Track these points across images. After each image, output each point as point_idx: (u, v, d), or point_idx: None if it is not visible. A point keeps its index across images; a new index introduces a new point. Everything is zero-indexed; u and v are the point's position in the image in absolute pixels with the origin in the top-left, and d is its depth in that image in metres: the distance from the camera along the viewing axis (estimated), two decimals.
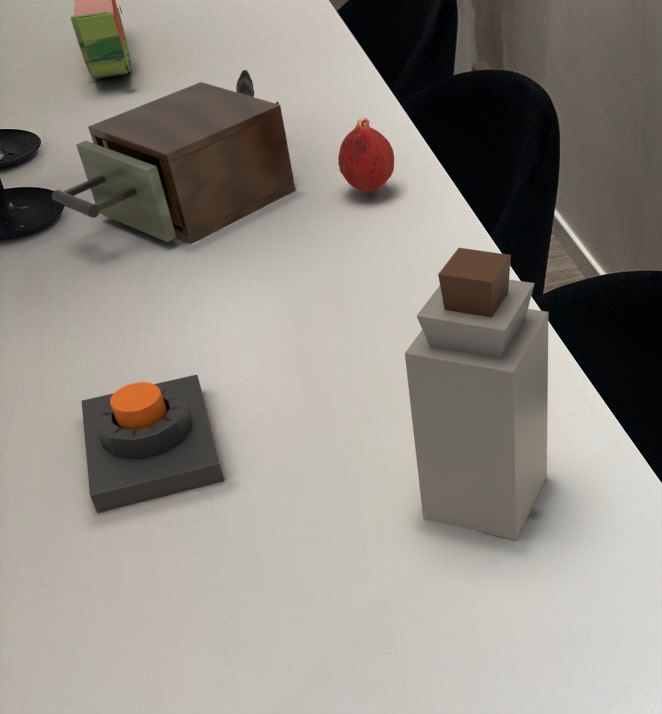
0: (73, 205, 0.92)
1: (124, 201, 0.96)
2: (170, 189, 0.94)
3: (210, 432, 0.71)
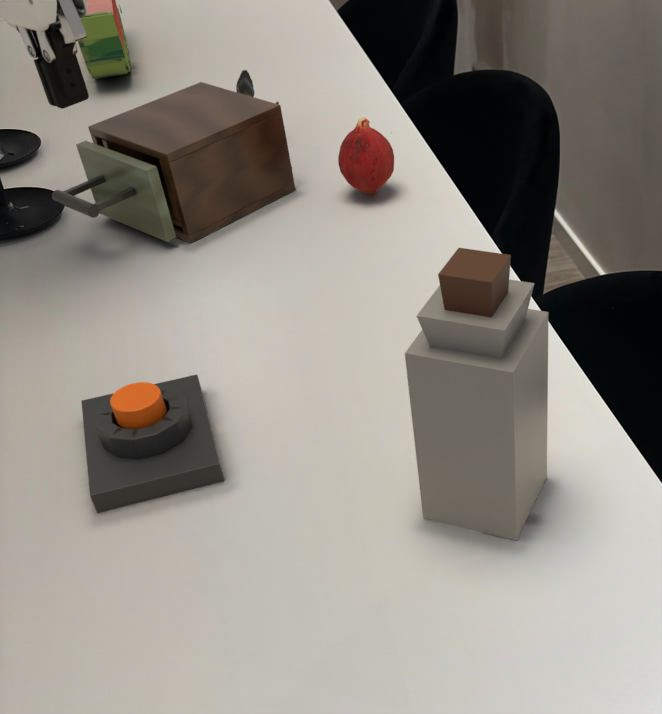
0: (73, 205, 0.92)
1: (124, 201, 0.96)
2: (170, 189, 0.94)
3: (210, 432, 0.71)
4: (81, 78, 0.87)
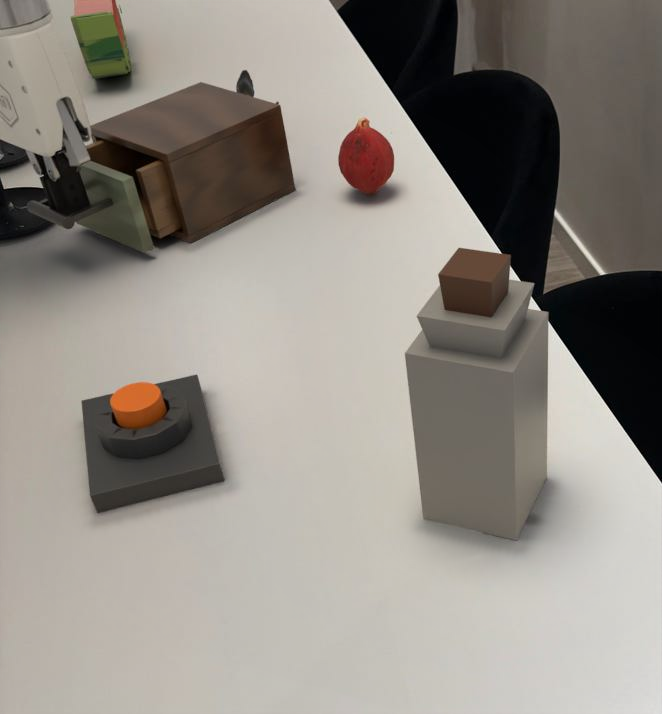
0: (48, 216, 0.90)
1: (101, 211, 0.95)
2: (147, 200, 0.93)
3: (210, 432, 0.71)
4: (84, 192, 0.92)
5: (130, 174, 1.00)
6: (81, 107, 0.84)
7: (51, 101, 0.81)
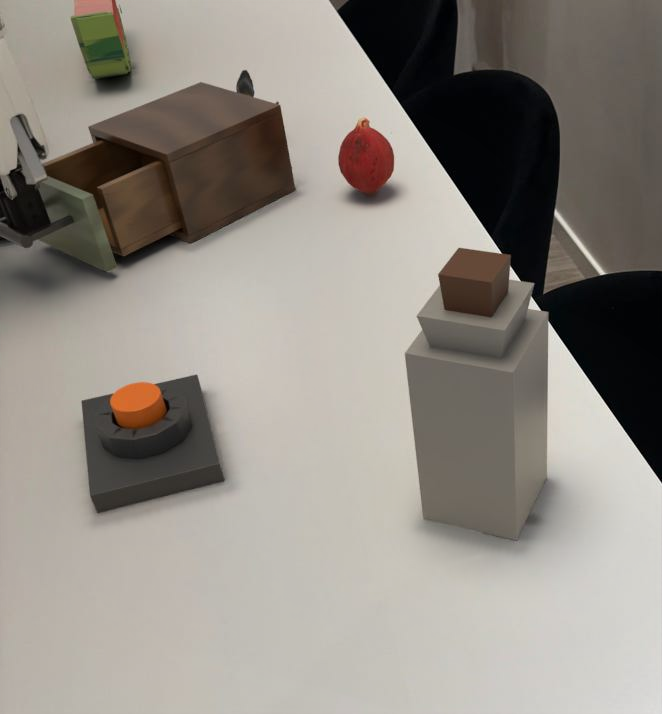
0: (6, 235, 0.88)
1: (62, 229, 0.92)
2: (109, 217, 0.90)
3: (210, 432, 0.71)
4: (43, 210, 0.89)
5: (94, 190, 0.98)
6: (37, 124, 0.81)
7: (4, 119, 0.79)
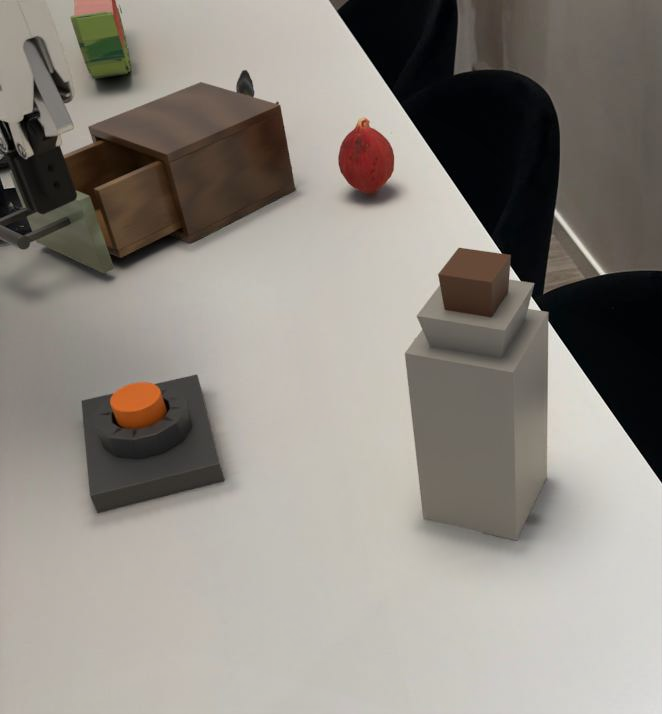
0: (3, 236, 0.87)
1: (59, 230, 0.92)
2: (106, 219, 0.90)
3: (210, 432, 0.71)
4: (67, 175, 0.68)
5: (92, 191, 0.98)
6: (59, 52, 0.60)
7: (16, 42, 0.58)
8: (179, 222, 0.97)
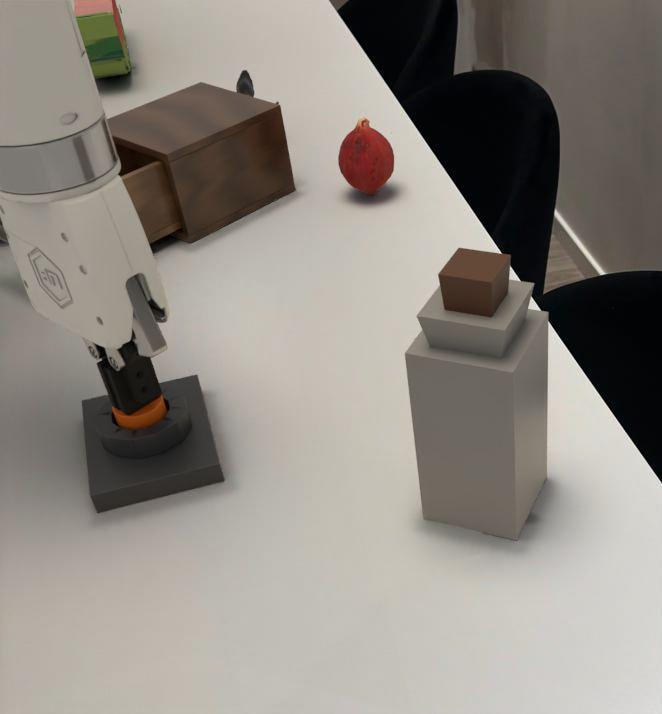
0: (3, 236, 0.87)
1: None
2: None
3: (210, 432, 0.71)
4: (153, 376, 0.69)
5: None
6: (157, 283, 0.61)
7: (119, 282, 0.59)
8: (179, 222, 0.97)
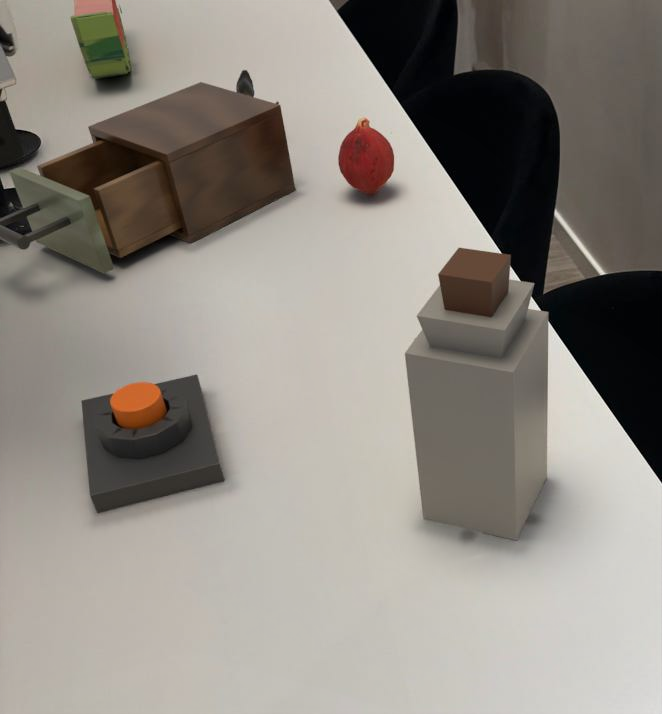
0: (3, 236, 0.87)
1: (59, 230, 0.92)
2: (106, 219, 0.90)
3: (210, 432, 0.71)
4: (13, 132, 0.66)
5: (92, 191, 0.98)
6: (1, 3, 0.58)
7: None
8: (179, 222, 0.97)
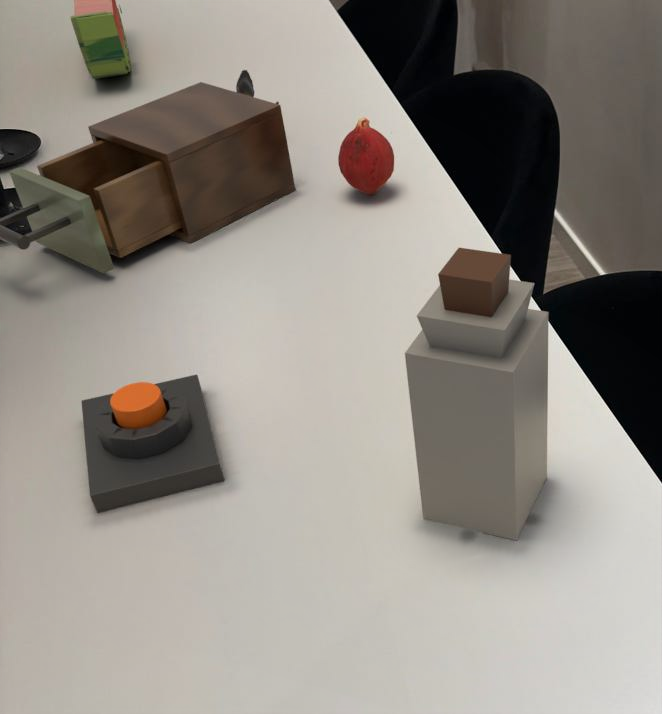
0: (3, 236, 0.87)
1: (59, 230, 0.92)
2: (106, 219, 0.90)
3: (210, 432, 0.71)
4: None
5: (92, 191, 0.98)
6: None
7: None
8: (179, 222, 0.97)
